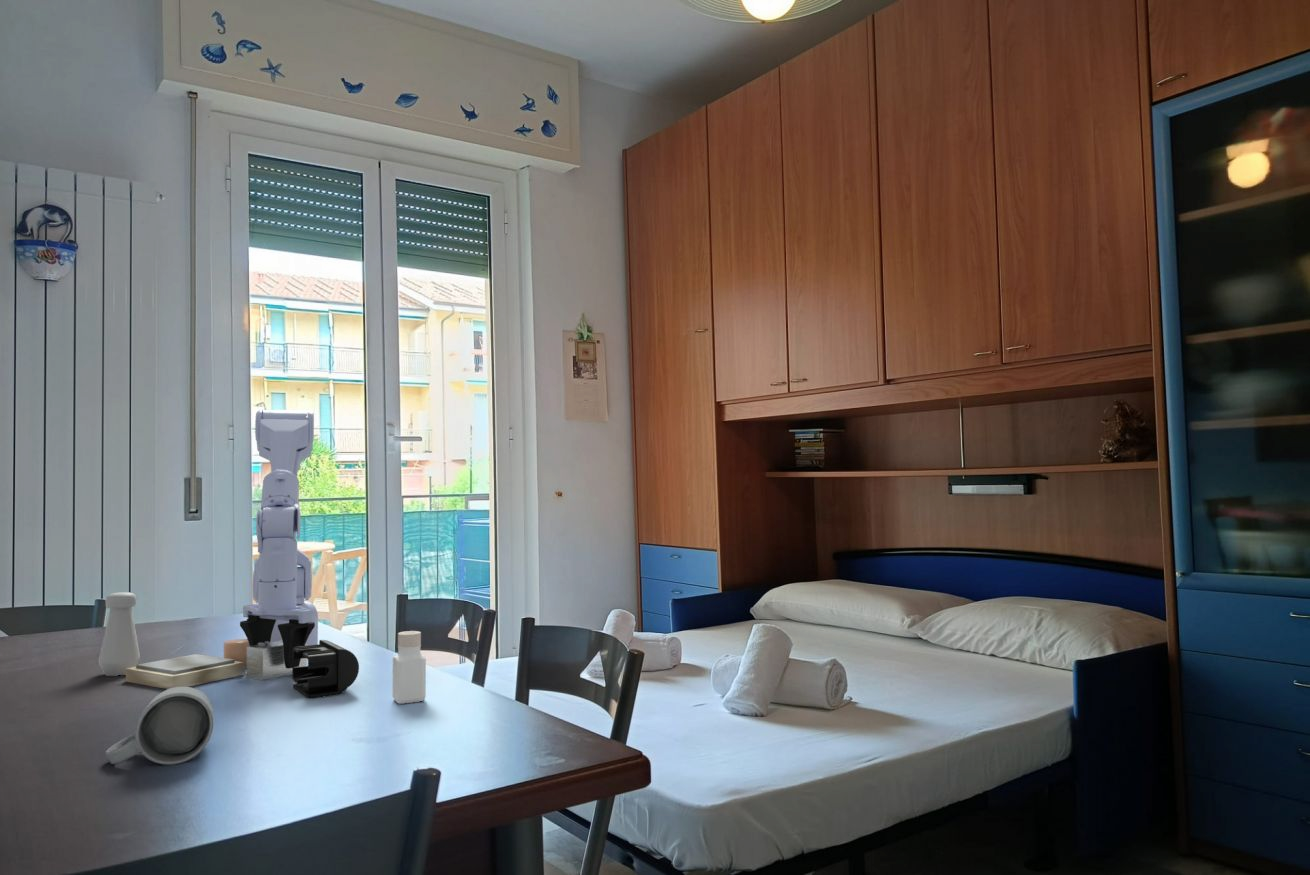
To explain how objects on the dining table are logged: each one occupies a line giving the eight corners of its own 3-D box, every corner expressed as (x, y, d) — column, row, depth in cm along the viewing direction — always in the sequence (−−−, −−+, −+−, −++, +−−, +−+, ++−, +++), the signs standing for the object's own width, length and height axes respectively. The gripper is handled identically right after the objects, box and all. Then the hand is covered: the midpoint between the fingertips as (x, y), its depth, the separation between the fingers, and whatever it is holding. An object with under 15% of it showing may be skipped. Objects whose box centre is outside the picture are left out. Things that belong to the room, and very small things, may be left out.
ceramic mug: (213, 741, 108) (213, 676, 108) (213, 759, 101) (213, 690, 101) (110, 755, 103) (110, 687, 104) (102, 775, 96) (102, 702, 96)
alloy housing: (289, 669, 150) (289, 635, 151) (305, 671, 148) (305, 637, 149) (246, 678, 143) (247, 642, 144) (262, 680, 141) (263, 644, 142)
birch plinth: (197, 667, 151) (197, 652, 151) (243, 674, 145) (244, 659, 145) (125, 681, 141) (125, 665, 141) (172, 689, 135) (172, 673, 135)
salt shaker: (125, 677, 144) (127, 595, 144) (89, 677, 144) (92, 595, 145) (146, 669, 150) (148, 590, 150) (112, 669, 150) (114, 590, 150)
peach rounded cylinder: (243, 661, 157) (243, 637, 157) (261, 663, 154) (262, 640, 155) (216, 666, 153) (217, 642, 153) (235, 669, 150) (236, 644, 150)
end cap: (359, 693, 133) (359, 646, 133) (309, 700, 128) (309, 652, 129) (339, 681, 141) (339, 637, 141) (291, 687, 137) (291, 642, 137)
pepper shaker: (391, 699, 128) (392, 631, 129) (420, 696, 130) (420, 629, 131) (397, 705, 125) (397, 636, 125) (426, 702, 127) (427, 633, 127)
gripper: (227, 580, 147) (225, 665, 146) (286, 585, 140) (285, 674, 139) (264, 576, 153) (263, 657, 152) (323, 580, 146) (322, 665, 145)
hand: (276, 665), depth 146 cm, fingers open, 7 cm apart
